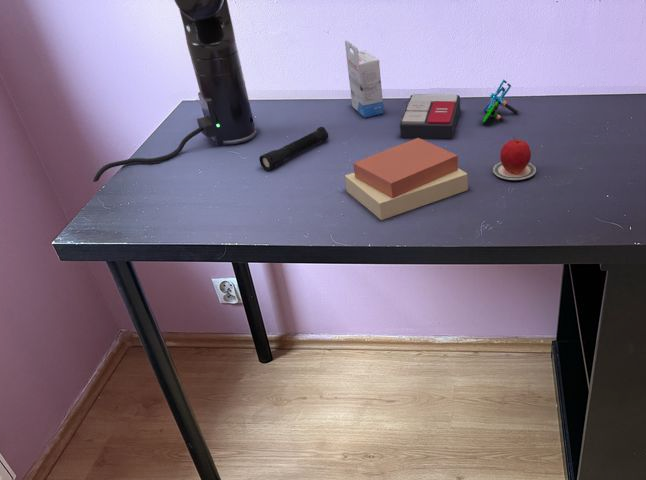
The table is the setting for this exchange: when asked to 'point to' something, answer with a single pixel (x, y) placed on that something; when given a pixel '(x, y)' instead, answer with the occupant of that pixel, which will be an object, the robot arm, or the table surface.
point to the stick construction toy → (497, 104)
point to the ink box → (364, 81)
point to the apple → (515, 161)
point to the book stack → (405, 178)
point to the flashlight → (292, 148)
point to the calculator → (430, 116)
